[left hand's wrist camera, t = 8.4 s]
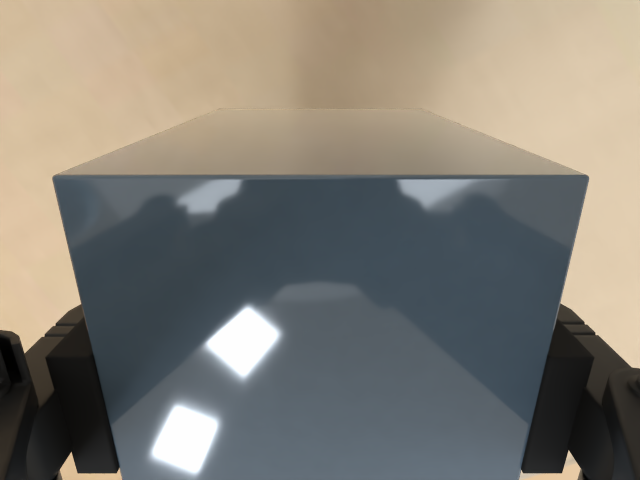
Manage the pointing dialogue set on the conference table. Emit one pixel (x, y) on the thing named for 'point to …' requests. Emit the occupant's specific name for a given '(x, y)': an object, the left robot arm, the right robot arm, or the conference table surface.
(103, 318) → the block
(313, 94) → the conference table surface
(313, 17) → the conference table surface
